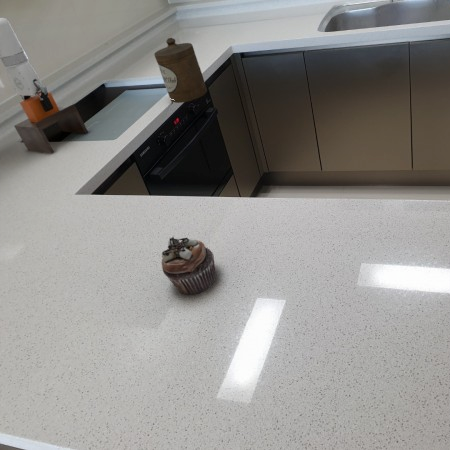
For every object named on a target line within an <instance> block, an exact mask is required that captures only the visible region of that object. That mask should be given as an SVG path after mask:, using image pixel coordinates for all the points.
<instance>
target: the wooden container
mask: <svg viewBox="0 0 450 450" xmlns="http://www.w3.org/2000/svg"><path fill="white" fill-rule="evenodd" d="M165 43H166V44H167V46H166V47H163V48H160V49H159V50H157V51H155V52H154V54H153V55H154V58H155V60H156V63H157V66H158V68H159V71H160V74H161V77H162V80H163V84H164V86H165V88H166V91H167V94H168V97H169V99H170V98H171V99H174V100H175V101H174V100H171V99H170V101H171V103H176V104H180V103H181V104H182V103H187V102H192V101H194V100H197V99H199V98H201V97H203V96H204V95H206V93H207V92H208V87H207V85H206V83H205V79H204V76H203V73H202V70H201V67H200V64H199V61H198V58H197V55H196V52H195V48H194V46H193V44H192V43H190V42H182V43H176V39H175V38H173V37H169V38H167V39H166V41H165Z"/></svg>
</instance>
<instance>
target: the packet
mask: <svg viewBox="0 0 450 450" xmlns="http://www.w3.org/2000/svg"><path fill="white" fill-rule="evenodd" d="M39 95H40V96H41V93H40V94H39ZM48 96H49V100H50V102H51V103H52V105H53V107H54V108H53V109H52V110H50V111H48V112H45V111H44V109H43V107H42V105H41V103H40V101H41V100H40V99H39V98H38V97H37V96H36V95H35V94H34V95H33V96H31V98H29V99H27V100H22V101H20V102H19V104H20V106H21V108H22V110H23V112H24V113H25V116H26V117H27V119H29V120H30V122H38V121H40V120H42V119H44V118H46V117H48V116H50V115H52V114H54V113H56V112H58V111H60V110H59V108H58V107H59V106H58V104H57V102H56V101H55V98H54V96H53V95H52V93H51V92H48Z"/></svg>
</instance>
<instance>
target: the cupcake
mask: <svg viewBox="0 0 450 450" xmlns="http://www.w3.org/2000/svg"><path fill="white" fill-rule="evenodd" d="M214 256H215V255H214V252H213V251H212V250H211V249H210V248H208V246H207V247H206V246H205V244H204V243H203V242H202V241H200V240H198V239H192V238H188V237H183V238H182V237H181V238H175V236H172V237H170V238H169V239H168V241H167V249H166V250H164V251H162V252H161V258H162V259H161V267H162V272H163V274H164V275H165V276H166V277H167V279H168V280H169V281H170V283H171V284H172V285H173V286H174V287H175V288H176V290H177V291H178V292H179V293H180V294H183V295H185V296H190V295H197V294H200V293H203V292H204V291H206V290H208V289H209V288H210V287H211V286H212V285H214V283H215V281H216V278H217V273H216V272H217V271H216V266H215V265H216V264H215V257H214Z"/></svg>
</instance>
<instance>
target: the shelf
mask: <svg viewBox="0 0 450 450" xmlns="http://www.w3.org/2000/svg"><path fill="white" fill-rule="evenodd" d="M58 108H59V110H60V111H58V112H56V113H54V114H52V115H50V116H48V117H46V118H44V119H42V120H40V121H38V122H30V120H29V119H28V118H27V119H25V120H22V121H21V122H18V123H17V124H15V125H13V127H14V129H15V130H16V132H17V134H18V135H19V137H20V139H21V141H22V142H23V144H24V146H25V147H26V149H27V151H30V152H37V153H45V154H53V153H55V150H54V149H53V147H52V145H51V143H50V141H49V139H48V138H47V135H46V134H45V132H44V129H47V128H48V127H50V126H52V125H55V124H56V123H57V124H58V126H59V128H60V130H61V132H63V133H74V134H82V135H83V134H84V135H86V134H88V133H89V131H88V128H87V127H86V125H85V123H84V121H83V119H82V117H81V115H80V113H79V111H78V109H77V106H76V104H75V103H72V104H69V105H68V106H58Z"/></svg>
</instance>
